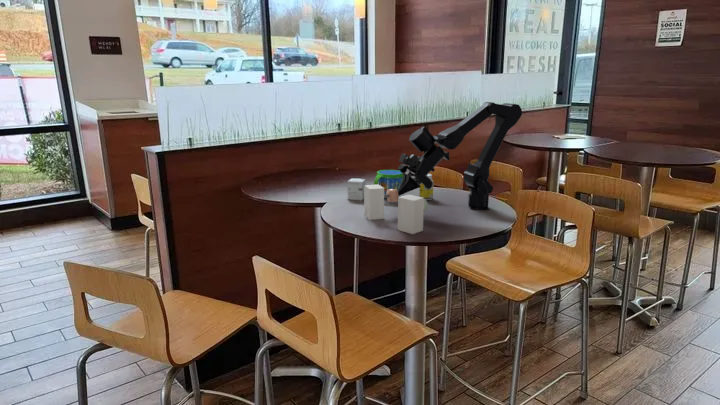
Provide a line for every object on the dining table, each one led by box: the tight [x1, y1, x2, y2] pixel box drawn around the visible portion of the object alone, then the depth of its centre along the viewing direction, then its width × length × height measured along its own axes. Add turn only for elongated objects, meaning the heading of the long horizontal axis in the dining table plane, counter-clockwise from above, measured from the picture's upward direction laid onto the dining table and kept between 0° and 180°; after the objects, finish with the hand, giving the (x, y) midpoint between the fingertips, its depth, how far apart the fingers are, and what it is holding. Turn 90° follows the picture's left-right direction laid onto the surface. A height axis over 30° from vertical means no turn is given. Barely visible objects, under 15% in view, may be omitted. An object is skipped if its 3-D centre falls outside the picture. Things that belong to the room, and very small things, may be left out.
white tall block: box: [363, 183, 385, 221], centre depth 165 cm, size 5×6×10 cm
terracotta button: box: [384, 189, 400, 203], centre depth 166 cm, size 6×4×4 cm
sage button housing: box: [397, 194, 425, 235], centre depth 150 cm, size 5×6×10 cm
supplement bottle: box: [418, 173, 434, 201], centre depth 189 cm, size 5×5×10 cm
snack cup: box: [373, 169, 403, 200], centre depth 191 cm, size 16×10×10 cm
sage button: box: [423, 199, 429, 213], centre depth 152 cm, size 6×4×4 cm
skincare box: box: [347, 178, 367, 201], centre depth 190 cm, size 6×6×7 cm
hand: (398, 194), depth 167 cm, fingers closed
